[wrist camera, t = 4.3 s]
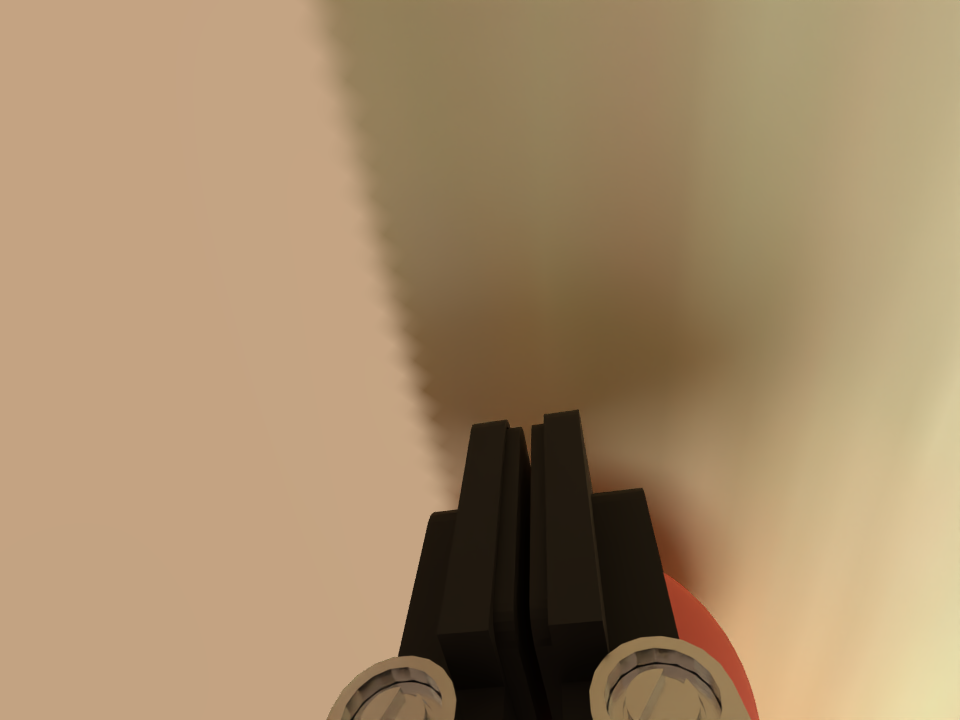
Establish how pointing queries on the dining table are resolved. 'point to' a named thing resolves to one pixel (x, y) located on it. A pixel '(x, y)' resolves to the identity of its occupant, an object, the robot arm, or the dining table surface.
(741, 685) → the ball
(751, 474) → the dining table surface
